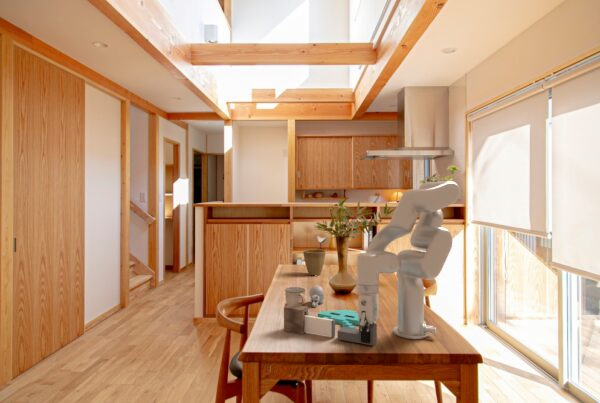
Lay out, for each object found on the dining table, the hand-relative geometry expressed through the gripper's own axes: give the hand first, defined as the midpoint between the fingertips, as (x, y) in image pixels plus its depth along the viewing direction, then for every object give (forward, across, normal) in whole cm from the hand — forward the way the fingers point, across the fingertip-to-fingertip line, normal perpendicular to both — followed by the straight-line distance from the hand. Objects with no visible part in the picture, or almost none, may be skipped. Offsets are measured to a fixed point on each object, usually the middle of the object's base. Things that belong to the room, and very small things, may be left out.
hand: (367, 339), depth 134 cm
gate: (+1, 0, +19) cm, 19 cm away
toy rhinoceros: (+2, +36, +36) cm, 51 cm away
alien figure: (+2, +19, +17) cm, 26 cm away
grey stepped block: (+1, 0, +4) cm, 4 cm away
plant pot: (+2, +99, +65) cm, 119 cm away
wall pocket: (+2, 0, +28) cm, 28 cm away
